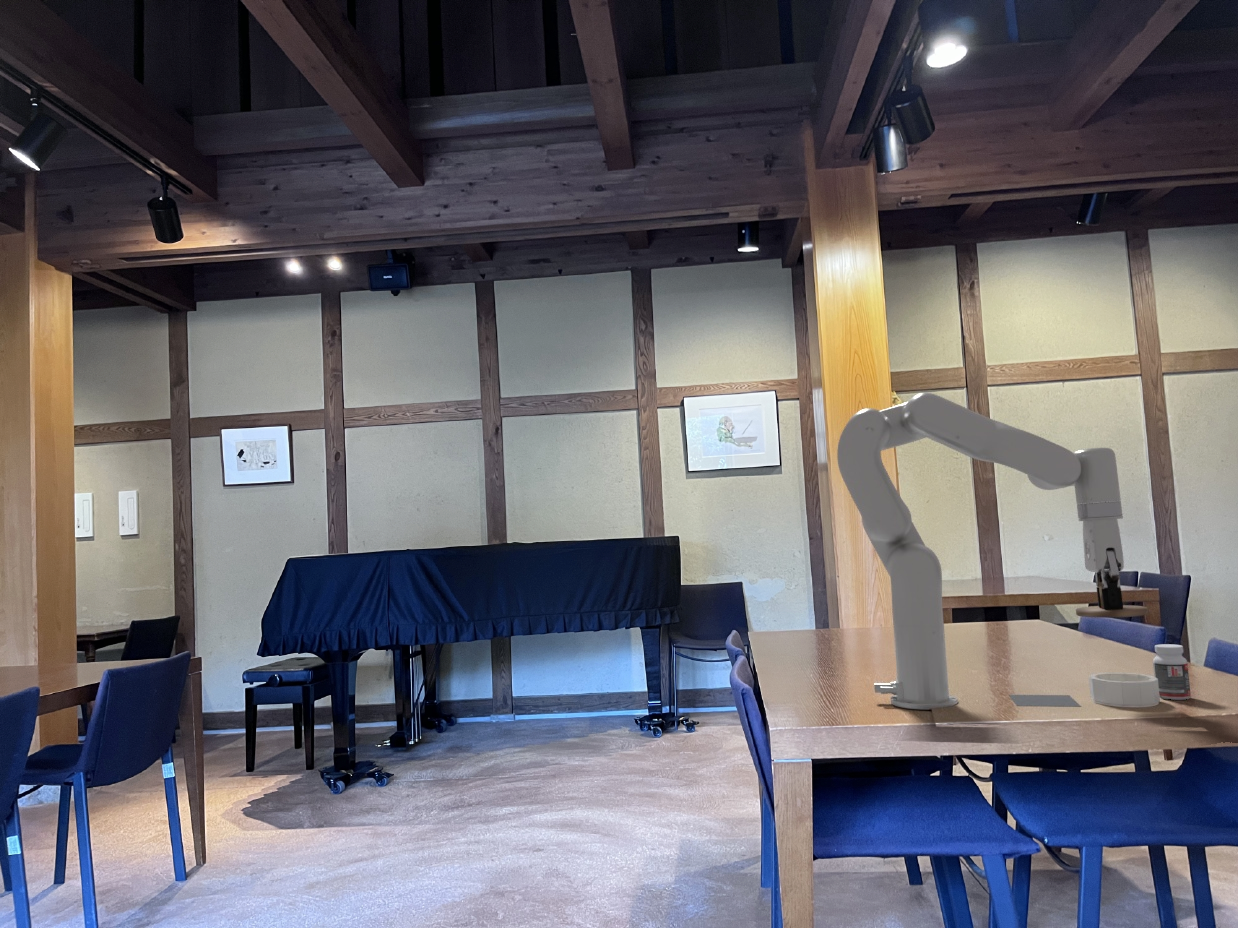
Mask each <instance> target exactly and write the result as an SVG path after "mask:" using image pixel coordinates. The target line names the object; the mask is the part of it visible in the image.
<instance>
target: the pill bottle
mask: <svg viewBox="0 0 1238 928" xmlns="http://www.w3.org/2000/svg"><path fill="white" fill-rule="evenodd" d="M1154 651H1155V653H1156V656H1155V657H1154V658H1153V659H1152V665H1153V674H1154V675H1153V676H1154V677H1156V678H1157V679H1158V685H1159V696H1160V699H1162V700H1168V699H1171V701H1185V700H1186V699H1187V700H1189V699H1191V696H1192V695H1191V686H1190V685H1191V684H1190V675H1189V665H1188V660H1187V658H1185V657H1184V656H1183V653H1184V646H1183V645H1181V644H1169V643H1166V644H1164V643H1162V644H1155V645H1154Z"/></svg>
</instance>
